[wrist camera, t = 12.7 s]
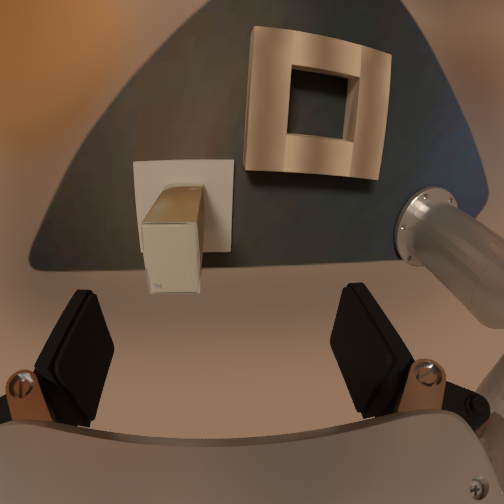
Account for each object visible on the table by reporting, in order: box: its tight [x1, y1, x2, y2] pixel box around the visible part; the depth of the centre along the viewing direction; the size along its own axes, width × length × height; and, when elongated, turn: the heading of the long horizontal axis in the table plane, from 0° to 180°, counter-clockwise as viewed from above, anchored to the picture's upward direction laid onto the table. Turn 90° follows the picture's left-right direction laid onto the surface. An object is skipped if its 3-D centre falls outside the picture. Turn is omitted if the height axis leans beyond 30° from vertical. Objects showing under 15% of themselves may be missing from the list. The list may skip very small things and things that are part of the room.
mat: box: [133, 160, 234, 252], centre depth 32 cm, size 11×11×1 cm
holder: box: [243, 26, 391, 180], centre depth 27 cm, size 15×15×3 cm
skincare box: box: [140, 183, 205, 294], centre depth 26 cm, size 6×4×12 cm
